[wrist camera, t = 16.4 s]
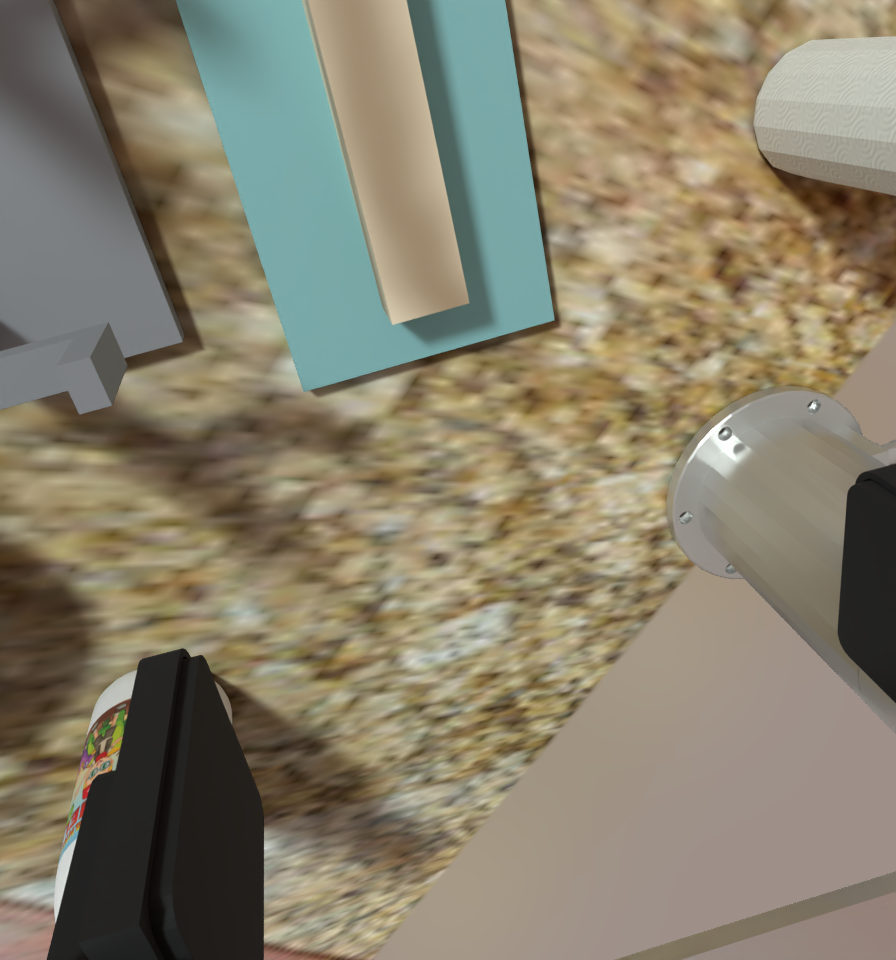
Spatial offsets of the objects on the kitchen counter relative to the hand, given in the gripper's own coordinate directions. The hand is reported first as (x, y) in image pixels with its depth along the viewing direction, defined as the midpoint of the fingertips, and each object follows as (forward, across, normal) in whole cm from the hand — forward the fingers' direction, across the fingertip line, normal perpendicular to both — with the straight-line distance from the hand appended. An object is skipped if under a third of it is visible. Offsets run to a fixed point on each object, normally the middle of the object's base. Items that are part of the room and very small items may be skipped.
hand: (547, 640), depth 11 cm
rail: (+29, -2, -9) cm, 31 cm away
